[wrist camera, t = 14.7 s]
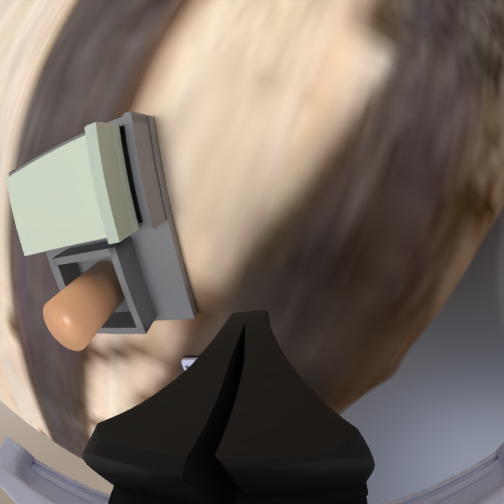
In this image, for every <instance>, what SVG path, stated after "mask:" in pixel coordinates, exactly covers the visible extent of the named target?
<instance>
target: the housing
mask: <svg viewBox="0 0 504 504" xmlns="http://www.w3.org/2000/svg"><path fill="white" fill-rule="evenodd" d="M107 123H111V124H119V129H120V136H121V143H122V149H123V155H124V161H125V166H126V172H127V177H128V182H129V187H130V192H131V196H132V201H133V205H134V209H135V214H136V218H137V222H138V226H139V229H138V230H137V231H135V232H134V233H132V234H131V235H129V236H128V237H127V238H125V239H124V240H122V241H121V242H118V243H113V244H108V240H107V238H103V239H98V240H94V241H89V242H84V243H79V244H75V245H70V246H66V247H61V248H57V249H52V250H48V251H44V252H46V254H47V257H48V260H49V263H50V266H51V268H52V271H53V274H54V277H55V279H56V282H57V284H58V287H59V289H60V291H61V290H63V289H64V288H65V287H66V286H68V285H69V284H70V283H71V282H72V281H74V280H75V279H76V278H77V277H79V276H80V275H81V274H82V273H84V272H85V271H86V270H88V269H89V268H90V267H91V266H93V265H94V264H95V263H97V262H99V261H102V260H105V261H110V262H112V263H113V265H114V268H115V271H116V274H117V277H118V280H119V283H120V285H121V288H122V291H123V294H124V296H125V299H124V300H123V302H122V303H121V304H120V305H119V306H118V308H117V309H116V310H115V311H114V312H113V313H112V315H111V316H110V317H109V318H108V319H107V321H106V322H105V323H104V324H103V326H102V327H101V328H100V329H99V331H98V332H97V333H106V334H146V333H147V331H148V330H149V328H150V326H151V325H152V323H153V321H156V320H178V319H194V318H195V316H196V313H197V310H196V307H195V303H194V300H193V296H192V293H191V289H190V285H189V282H188V278H187V274H186V271H185V267H184V263H183V259H182V255H181V251H180V247H179V243H178V239H177V235H176V230H175V226H174V222H173V217H172V213H171V208H170V203H169V199H168V194H167V189H166V184H165V179H164V174H163V168H162V163H161V157H160V152H159V146H158V140H157V133H156V127H155V120H154V117H152V116H147V115H144V114H140V113H136V112H132V111H130V112H127V113H125V114H123V117H120V118H118V119H115V120H112V121H110V122H107ZM84 135H86V134H85V132H84V133H82V134H80V135H78V136H76V137H74V138H72V139H70V140H68V141H66V142H64V143H62V144H60V145H58V146H56V147H54V148H52V149H50V150H48V151H47V152H45V153H43V154H41V155H39V156H38V157H36V158H34V159H33V160H31V161H29V162H28V163H26V164H24V165H23V166H21V167H20V168H18V169H16V170H13V171H11V172H9V177H10V176H11V175H13V174H14V173H16V172H17V171H19V170H20V169H22V168H24V167H25V166H27V165H29V164H30V163H32V162H34V161H35V160H37V159H39V158H41V157H42V156H44V155H46V154H48V153H50V152H52V151H54V150H55V149H57V148H59V147H61V146H63V145H65V144H67V143H69V142H71V141H73V140H76V139H78V138H80V137H82V136H84ZM40 253H43V252H40ZM35 254H39V253H35ZM31 255H34V254H31ZM28 256H30V255H28Z"/></svg>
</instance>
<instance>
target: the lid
mask: <svg viewBox="0 0 504 504" xmlns="http://www.w3.org/2000/svg"><path fill="white" fill-rule="evenodd" d="M85 134H86V135H84V136H82V137H80V138H78V139H76V140H73V141H71V142H69V143H67V144H65V145H63V146H61V147H59V148H57V149H55V150H54V151H52V152H50V153H48V154H46V155H44V156H42V157H41V158H39V159H37V160H35V161H34V162H32V163H30V164H29V165H27V166H25V167H24V168H22V169H20V170H19V171H17V172H16V173H14V174H13V175H11V176H10V177H8V178H7V186H8V191H9V197H10V202H11V206H12V211H13V215H14V219H15V223H16V227H17V231H18V235H19V238H20V242H21V245H22V248H23V251H24V255H25V256H27V255H31V254H35V253H40V252H44V251H48V250H52V249H57V248H61V247H66V246H70V245H75V244H79V243H84V242H89V241H94V240H98V239H103V238H107V240H108V244H113V243H118V242H121V241H122V240H124V239H125V238H127V237H128V236H129V235H131V234H132V233H134V232H135V231H137V230H138V229H139V226H138V222H137V218H136V214H135V209H134V205H133V201H132V196H131V192H130V187H129V182H128V177H127V172H126V166H125V161H124V155H123V149H122V143H121V136H120V129H119V124H111V123H101V122H94V123H92V124H90V125H88V126H86V127H85Z"/></svg>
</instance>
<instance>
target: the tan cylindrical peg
mask: <svg viewBox="0 0 504 504" xmlns="http://www.w3.org/2000/svg"><path fill="white" fill-rule="evenodd" d="M124 299H125V296H124V294H123V291H122V288H121V285H120V283H119V280H118V277H117V274H116V271H115V268H114V265H113V263H112V262H110V261H105V260H102V261H99V262H97V263H95V264H94V265H93V266H91V267H90V268H89V269H88V270H86V271H85V272H84V273H82V274H81V275H80V276H79V277H77V278H76V279H75V280H74V281H72V282H71V283H70V284H69V285H68V286H66V287H65V288H64V289H63V290H61V291H60V292H59V293H58V294H57V295H56V296H54V297H53V298H52V299H51V300H50V301H48V302H47V303H46V304H45V306H44V308H43V316H44V320H45V323H46V325H47V327H48V329H49V331H50V332H51V334H52V335H53V336H54V337H55V339H56V340H57V341H58V342H60V343H61V344H62V345H63V346H65V347H67V348H68V349H71V350H74V351H81V350H83V349H84V348H85V347H86V346H87V344H88V343H89V342H90V341H91V339H92V338H93V337H94V336H95V334H96V333H97V332H98V331H99V329H100V328H101V327H102V326H103V324H104V323H105V322H106V321H107V319H108V318H109V317H110V316H111V315H112V313H113V312H114V311H115V310H116V309H117V308H118V306H119V305H120V304H121V303H122V302H123V300H124Z"/></svg>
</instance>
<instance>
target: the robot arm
mask: <svg viewBox="0 0 504 504" xmlns="http://www.w3.org/2000/svg"><path fill="white" fill-rule="evenodd" d="M181 363H182V366H183V368H184V370H185V371H184V372H183V373H182V374H181V375H180V376H179V377H177V378H176V379H175V380H174V381H173V382H171V383H170V384H169V385H167V386H166V387H164V388H163V389H162V390H160V391H159V392H158V393H156V394H155V395H153V396H152V397H150V398H149V399H147V400H145V401H144V402H142V403H140V404H139V405H137V406H135V407H133V408H131V409H129V410H127V411H125V412H123V413H121V414H119V415H117V416H114V417H112V418H110V419H107V420H105V421H103V422H100V423H98V424H97V426H96V428H95V430H94V432H93V434H92V436H91V438H90V440H89V442H88V444H87V446H86V448H85V450H84V452H83V454H82V455H83V459H84V461H85V462H86V464H87V465H88V466H89V467H90V468H92V469H93V470H94V471H95V472H97V473H98V474H99V475H100V476H102V477H103V478H105V479H106V480H107V481H109V482H110V483H111V484H113V485H114V487H113V490H112V492H111V495H109V494H107V493H104V492H101V491H99V490H96V489H94V488H91V487H89V486H87V485H85V484H82V483H80V482H78V481H76V480H74V479H72V478H69V477H67V476H66V475H63V474H61V473H59V472H58V471H56V470H54V469H52V468H50V467H48V466H47V465H45V464H43V463H41V462H40V461H38V460H37V459H35V458H34V457H33V456H32V455H31V454H30V453H29V452H28V451H27V450H26V449H24V448H23V447H22V446H20V445H19V444H18V443H16V442H15V441H13V440H12V439H10V438H9V437H7V438H6V439H5V441H4V443H3V445H2V446H1V448H0V487H1V488H2V489H3V490H4V491H5V492H6V493H7V494H8V495H9V496H10V497H11V498H12V500H13V501H14V502H15V503H16V504H367V498H366V496H367V495H368V489H367V484H366V481H367V480H368V478H369V477H370V475H371V474H372V472H373V470H374V467H375V464H374V459H373V457H372V454H371V452H370V450H369V447H368V446H367V444H366V442H365V440H364V438H363V437H362V435H361V434H360V432H359V430H358V429H357V428H356V427H355V426H353V425H351V424H350V423H349V422H347V421H346V420H345V419H343V418H342V417H341V416H339V415H338V414H337V413H336V412H334V411H333V410H332V409H331V408H330V407H329V406H327V405H326V404H325V403H324V402H323V401H322V400H321V399H320V398H319V397H318V396H317V395H316V394H315V393H314V392H313V391H312V390H311V389H310V388H309V387H308V386H307V385H306V384H305V382H304V381H303V380H302V379H301V378H300V376H299V375H298V374H297V372H296V371H295V370H294V369H293V367H292V366H291V364H290V363H289V361H288V360H287V358H286V357H285V355H284V353H283V352H282V350H281V348H280V346H279V345H278V343H277V340H276V338H275V336H274V334H273V332H272V329H271V327H270V322H269V316H268V312H267V311H265V310H261V311H251V312H241V313H233V314H232V315H231V316H230V317H229V319H228V320H227V322H226V323H225V324H224V326H223V327H222V329H221V330H220V331H219V333H218V334H217V335H216V337H215V338H214V339H213V340H212V342H211V343H210V344H209V345H208V347H207V348H206V349H205V350H204V351H203V352H202V354H201V355H200V356H199V357H195V358H183V359H182V362H181ZM187 365H188V366H187ZM385 504H504V443H503V444H502V445H501V446H500V447H499V448H498V449H497V451H496V452H494V453H493V454H491V455H490V456H488V457H487V458H485V459H483V460H482V461H480V462H478V463H477V464H475V465H473V466H472V467H470V468H468V469H466V470H464V471H463V472H461V473H459V474H457V475H455V476H453V477H451V478H449V479H447V480H445V481H443V482H441V483H438V484H436V485H434V486H432V487H429V488H427V489H424V490H422V491H420V492H417V493H414V494H412V495H409V496H407V497H403V498H401V499H398V500H394V501H392V502H388V503H385Z"/></svg>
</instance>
